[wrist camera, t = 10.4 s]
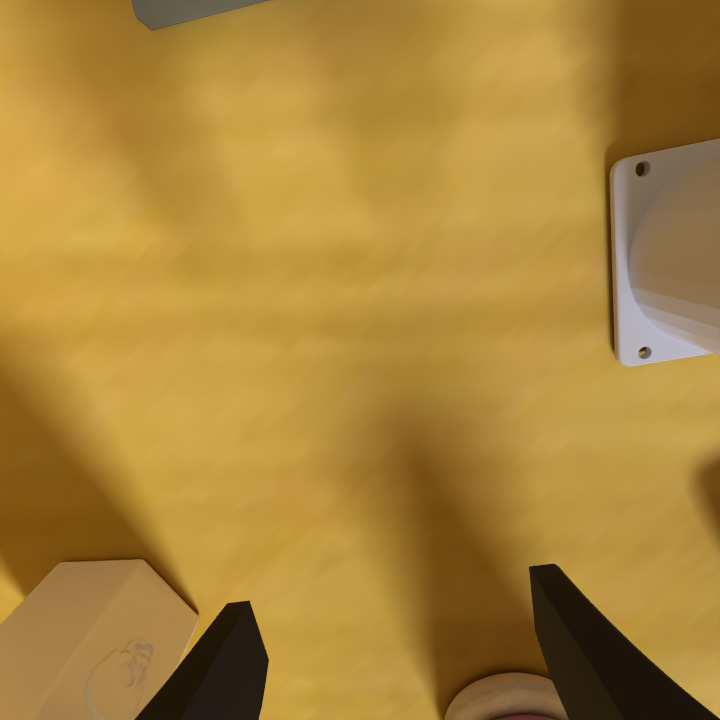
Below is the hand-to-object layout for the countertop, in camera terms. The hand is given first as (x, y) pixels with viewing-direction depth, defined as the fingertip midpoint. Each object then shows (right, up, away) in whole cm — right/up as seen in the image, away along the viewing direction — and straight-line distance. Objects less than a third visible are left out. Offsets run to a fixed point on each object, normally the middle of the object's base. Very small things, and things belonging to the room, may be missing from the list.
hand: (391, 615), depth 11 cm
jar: (-14, -7, +13) cm, 20 cm away
